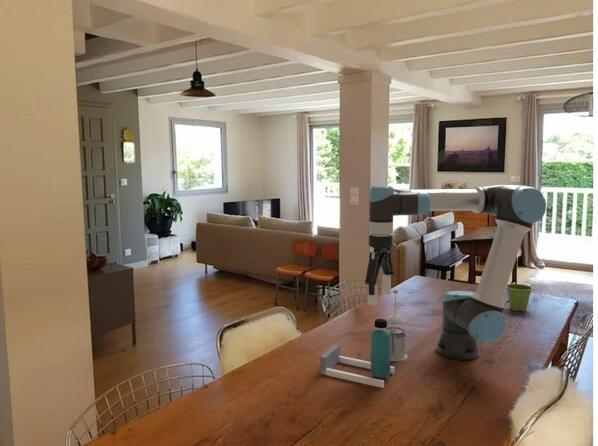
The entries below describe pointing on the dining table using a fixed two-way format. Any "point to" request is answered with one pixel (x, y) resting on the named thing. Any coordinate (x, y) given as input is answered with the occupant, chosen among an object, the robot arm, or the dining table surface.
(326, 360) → the guide track
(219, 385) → the dining table surface
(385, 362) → the beverage bottle
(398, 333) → the french press
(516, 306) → the plant pot
